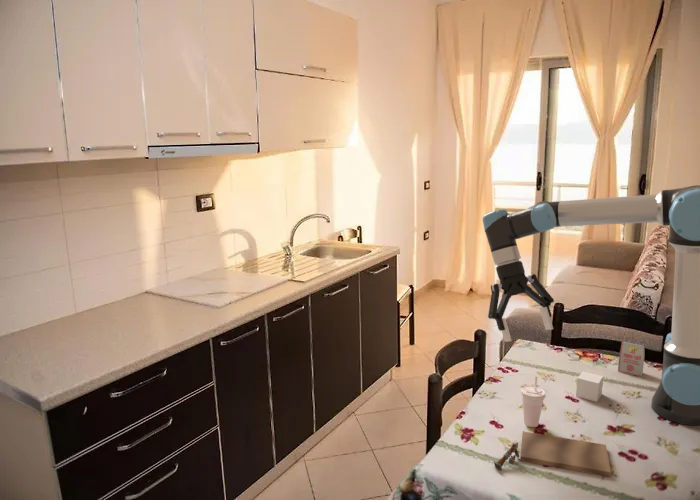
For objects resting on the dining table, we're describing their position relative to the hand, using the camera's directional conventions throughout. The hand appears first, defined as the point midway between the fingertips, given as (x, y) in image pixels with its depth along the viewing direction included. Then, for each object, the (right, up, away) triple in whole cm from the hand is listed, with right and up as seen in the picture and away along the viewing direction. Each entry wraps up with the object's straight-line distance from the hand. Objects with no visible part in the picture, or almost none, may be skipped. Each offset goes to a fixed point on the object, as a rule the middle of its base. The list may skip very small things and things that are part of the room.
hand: (529, 335), depth 154 cm
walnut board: (+2, -27, -20) cm, 33 cm away
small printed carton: (+42, -17, +26) cm, 53 cm away
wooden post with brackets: (-13, -28, -23) cm, 38 cm away
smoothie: (-1, -24, -5) cm, 24 cm away
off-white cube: (+22, -20, +11) cm, 32 cm away
